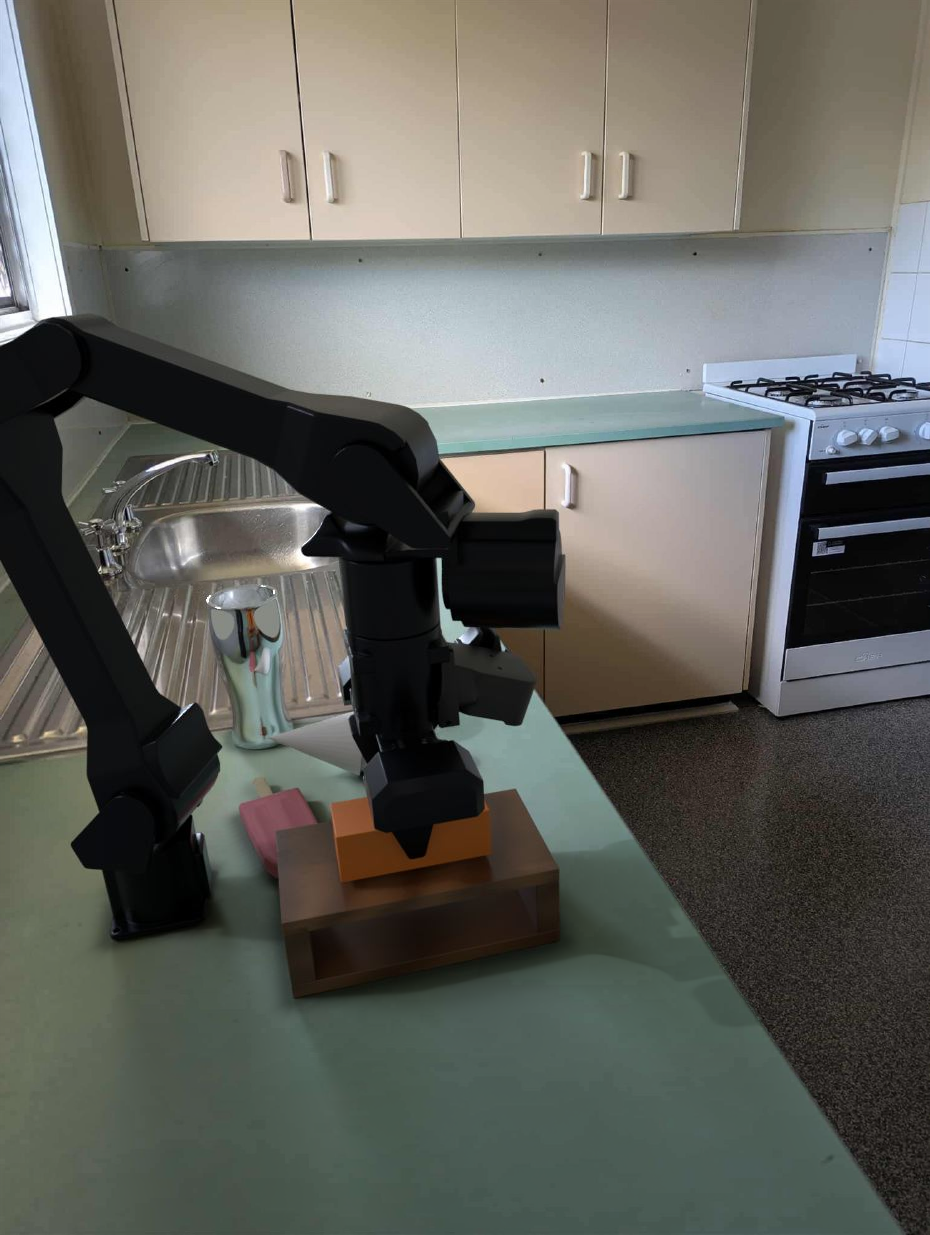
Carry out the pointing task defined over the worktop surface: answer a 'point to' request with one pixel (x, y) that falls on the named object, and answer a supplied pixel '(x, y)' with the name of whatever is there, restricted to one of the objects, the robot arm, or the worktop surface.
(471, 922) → the shelf
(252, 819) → the popsicle
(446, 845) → the orange rectangular block
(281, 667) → the beer glass
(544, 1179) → the worktop surface
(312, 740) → the ice cream cone
